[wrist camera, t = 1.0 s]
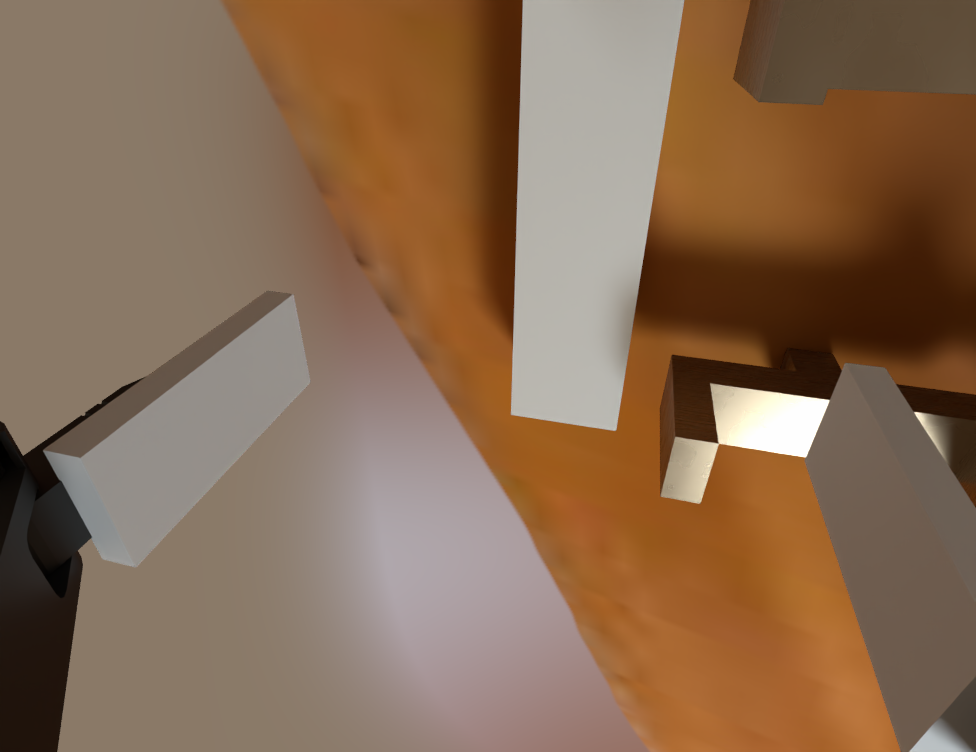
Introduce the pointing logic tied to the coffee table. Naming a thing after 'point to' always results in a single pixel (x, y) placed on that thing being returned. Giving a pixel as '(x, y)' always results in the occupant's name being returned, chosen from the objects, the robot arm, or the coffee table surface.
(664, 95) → the rail
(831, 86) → the cup bracket
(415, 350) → the coffee table surface
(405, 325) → the coffee table surface
